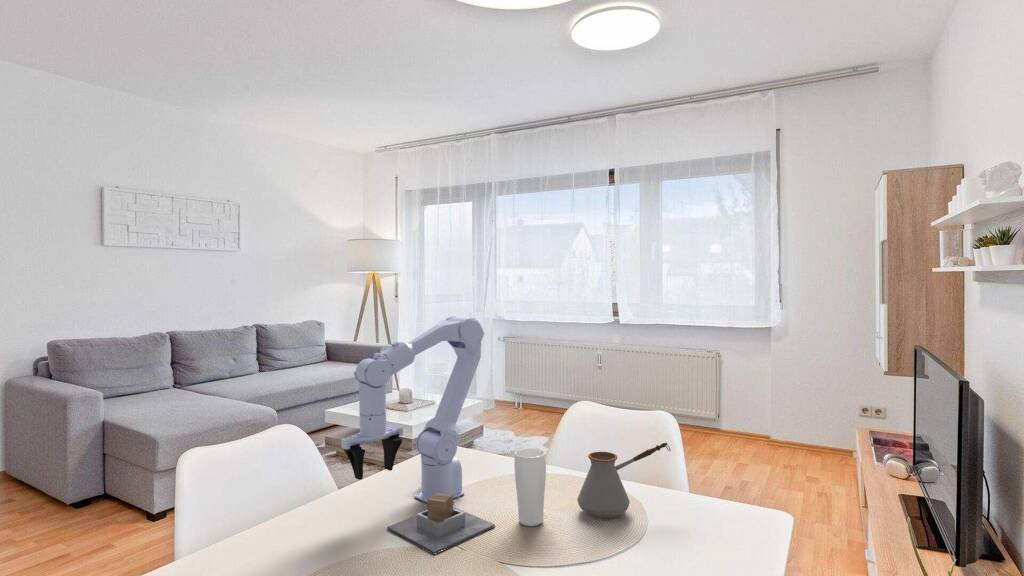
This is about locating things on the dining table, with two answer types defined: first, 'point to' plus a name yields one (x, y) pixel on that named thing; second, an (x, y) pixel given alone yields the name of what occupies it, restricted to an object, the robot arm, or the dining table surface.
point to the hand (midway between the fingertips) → (374, 473)
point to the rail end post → (440, 506)
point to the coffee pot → (607, 486)
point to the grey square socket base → (440, 530)
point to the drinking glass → (530, 485)
